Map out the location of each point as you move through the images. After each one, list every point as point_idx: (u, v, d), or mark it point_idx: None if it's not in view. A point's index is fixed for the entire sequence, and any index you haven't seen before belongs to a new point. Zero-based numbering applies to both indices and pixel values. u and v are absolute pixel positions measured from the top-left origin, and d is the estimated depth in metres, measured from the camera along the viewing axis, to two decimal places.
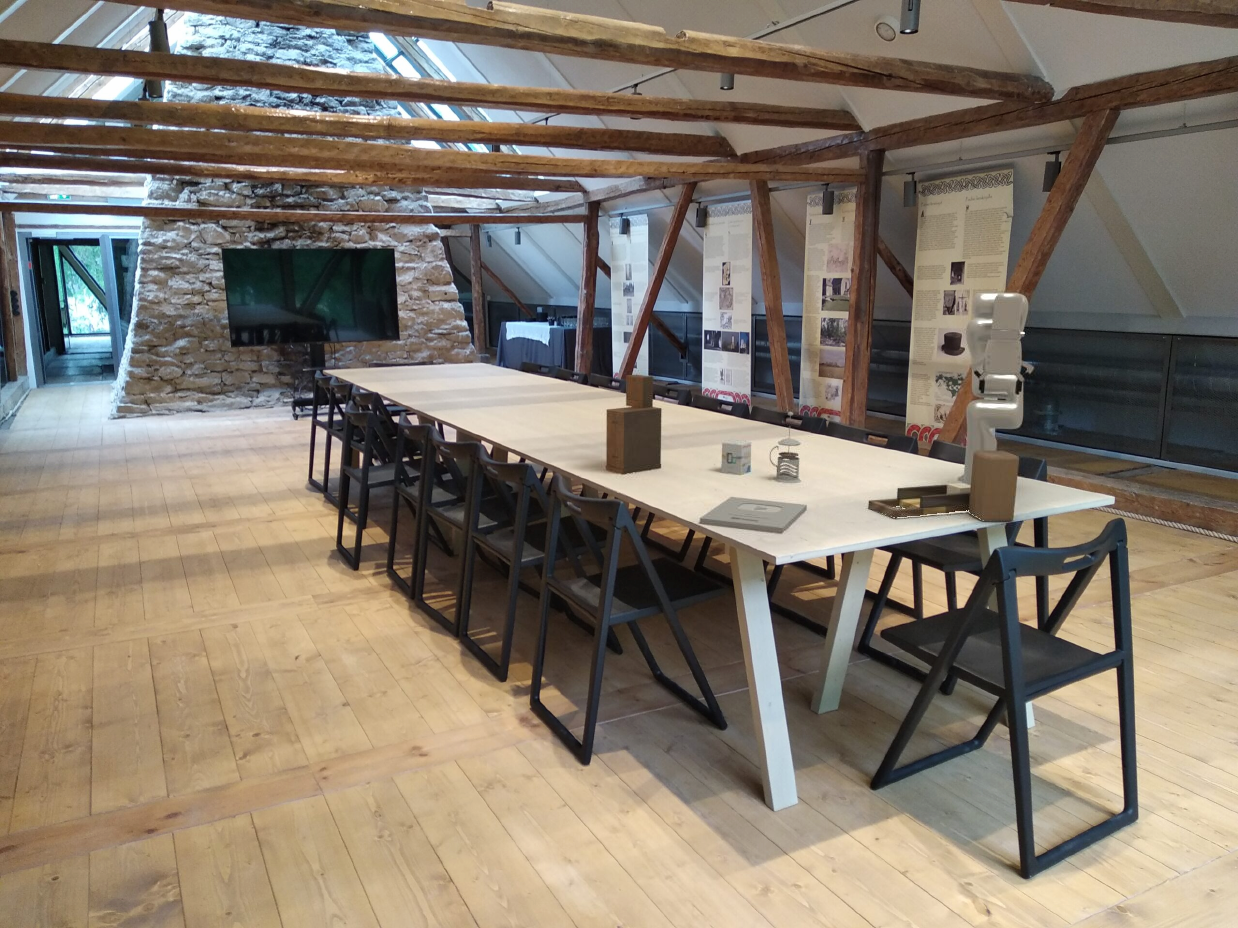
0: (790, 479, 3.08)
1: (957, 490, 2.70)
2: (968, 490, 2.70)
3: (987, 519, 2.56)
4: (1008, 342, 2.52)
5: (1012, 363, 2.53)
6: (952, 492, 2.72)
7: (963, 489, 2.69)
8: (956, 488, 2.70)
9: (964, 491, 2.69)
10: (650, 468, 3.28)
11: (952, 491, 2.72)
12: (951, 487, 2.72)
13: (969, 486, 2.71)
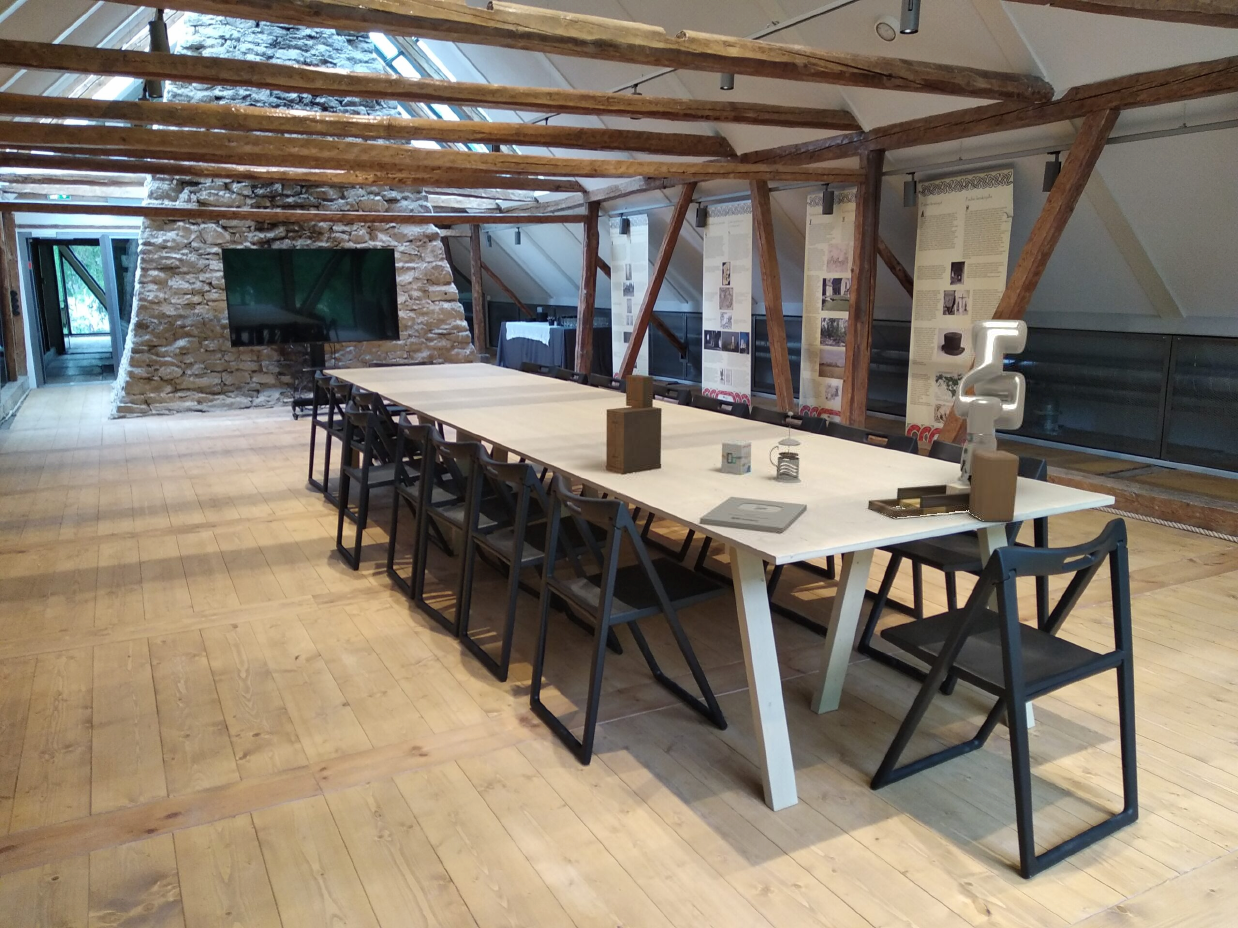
0: (790, 479, 3.08)
1: (956, 490, 2.70)
2: (967, 490, 2.70)
3: (987, 519, 2.56)
4: None
5: None
6: (951, 492, 2.72)
7: (962, 489, 2.69)
8: (955, 488, 2.70)
9: (964, 491, 2.69)
10: (650, 468, 3.28)
11: (951, 491, 2.72)
12: (950, 487, 2.72)
13: (968, 486, 2.71)
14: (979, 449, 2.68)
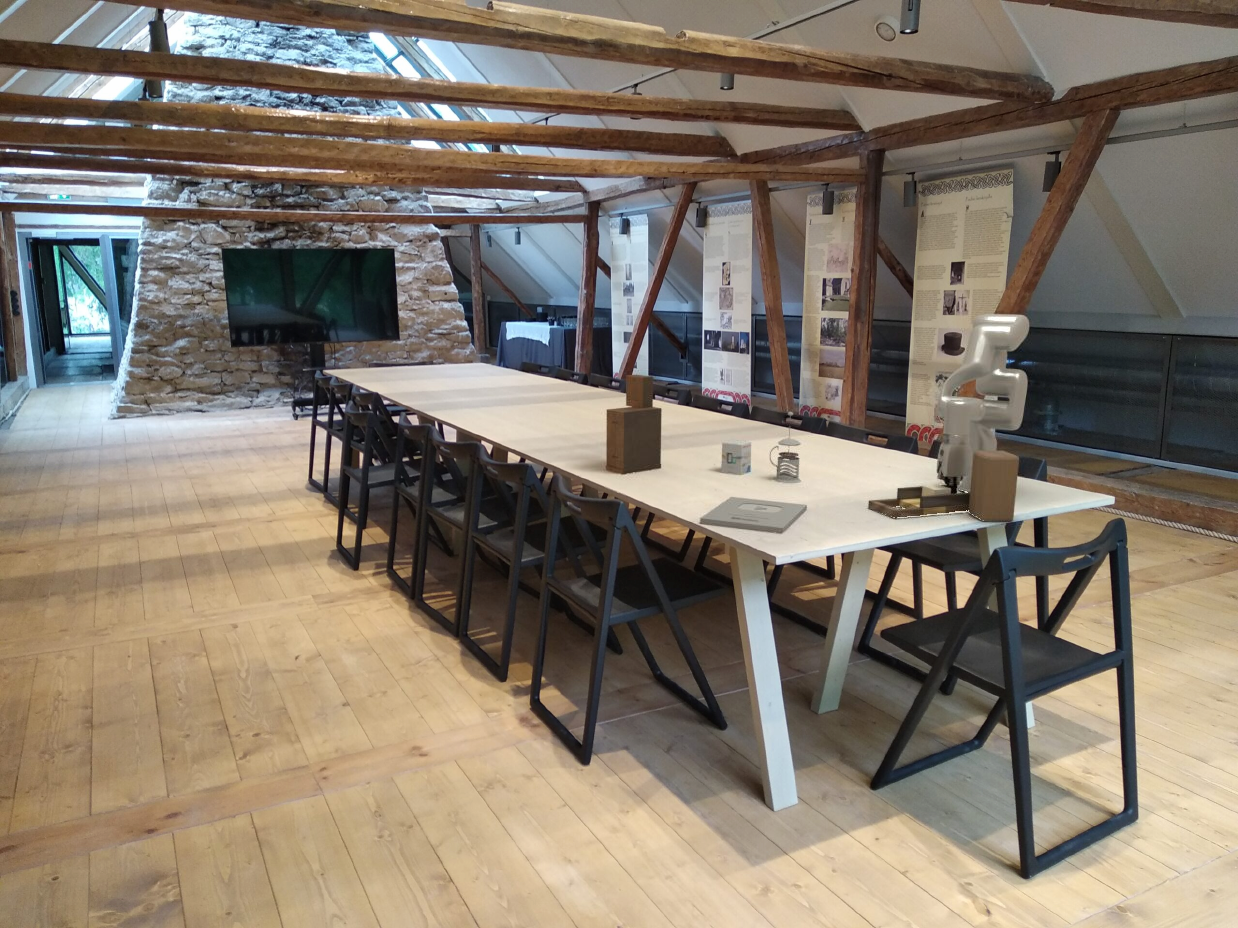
0: (790, 479, 3.08)
1: (932, 492, 2.67)
2: (943, 492, 2.67)
3: (987, 519, 2.56)
4: None
5: None
6: (927, 494, 2.70)
7: (938, 491, 2.67)
8: (931, 490, 2.68)
9: (939, 493, 2.67)
10: (650, 468, 3.28)
11: (927, 493, 2.70)
12: (926, 488, 2.70)
13: (944, 488, 2.69)
14: (956, 451, 2.66)
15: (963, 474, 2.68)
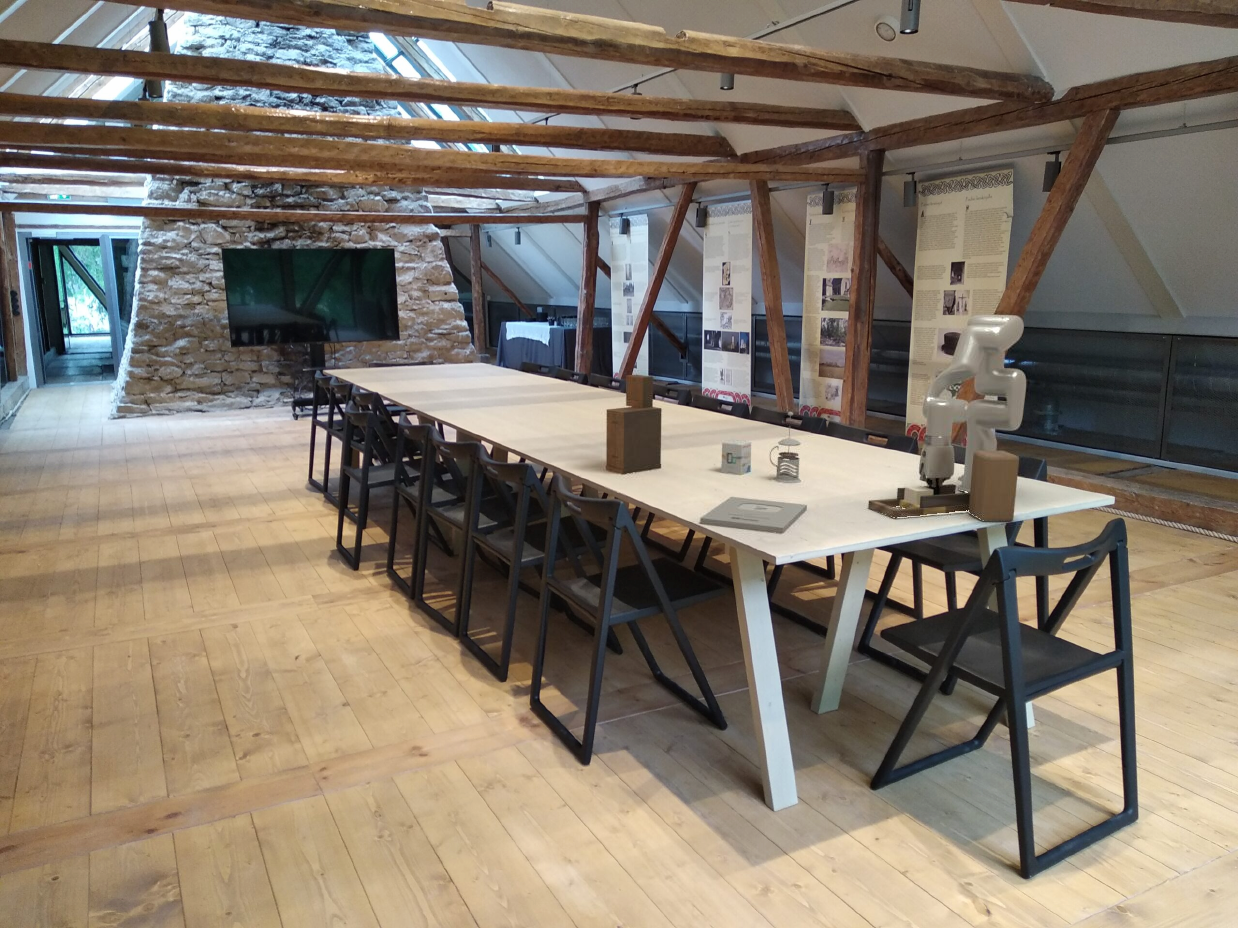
0: (790, 479, 3.08)
1: (914, 493, 2.65)
2: (925, 493, 2.65)
3: (987, 519, 2.56)
4: None
5: None
6: (909, 495, 2.68)
7: (920, 492, 2.65)
8: (913, 491, 2.66)
9: (921, 494, 2.65)
10: (650, 468, 3.28)
11: (909, 494, 2.68)
12: (908, 490, 2.68)
13: (926, 489, 2.67)
14: (938, 452, 2.64)
15: (946, 476, 2.66)
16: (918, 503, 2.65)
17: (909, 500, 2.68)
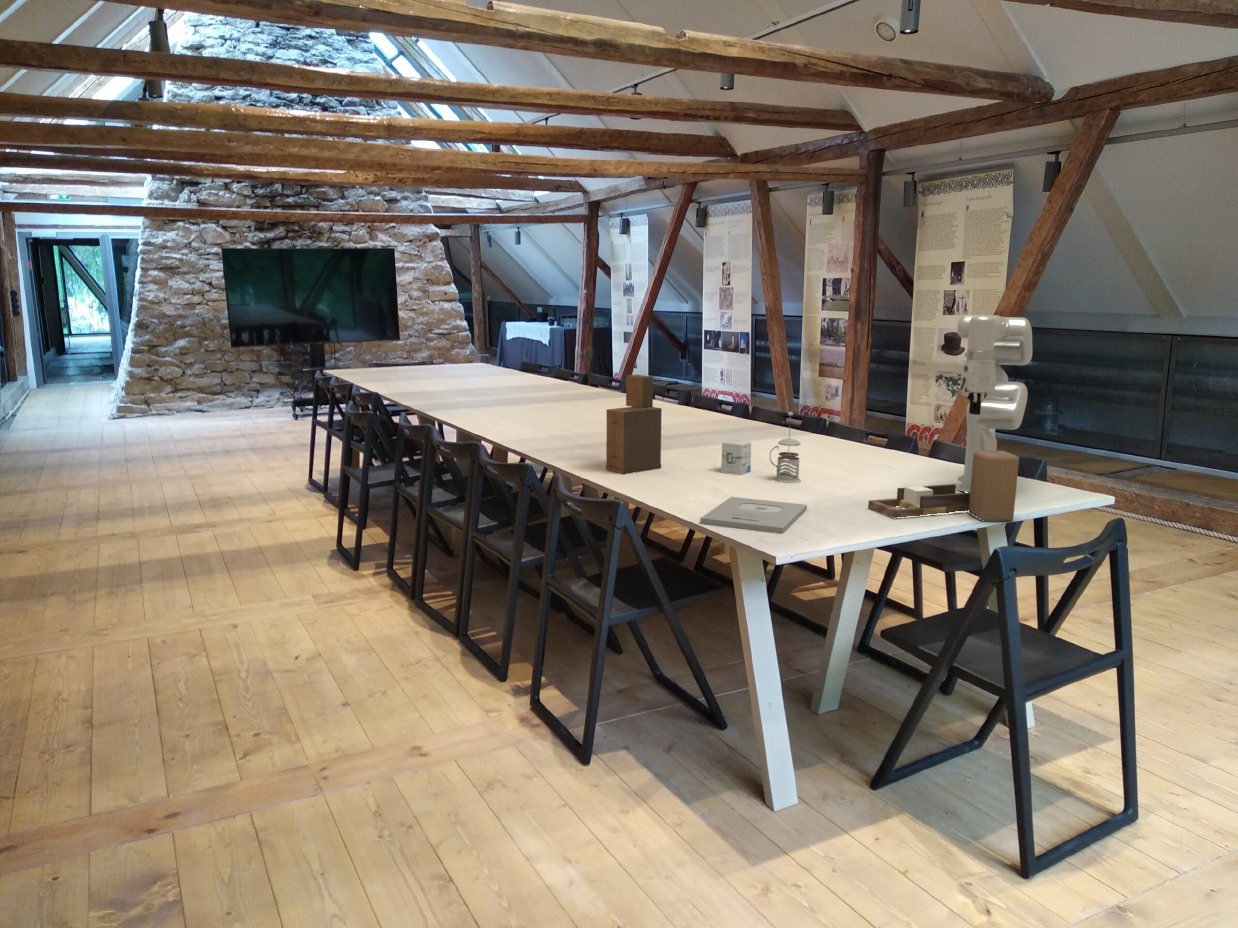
0: (790, 479, 3.08)
1: (914, 493, 2.65)
2: (925, 493, 2.65)
3: (987, 519, 2.56)
4: None
5: None
6: (909, 495, 2.68)
7: (920, 492, 2.65)
8: (913, 491, 2.66)
9: (921, 494, 2.65)
10: (650, 468, 3.28)
11: (909, 494, 2.68)
12: (908, 490, 2.68)
13: (926, 489, 2.67)
14: (980, 366, 2.68)
15: (987, 390, 2.70)
16: (918, 503, 2.65)
17: (909, 500, 2.68)
